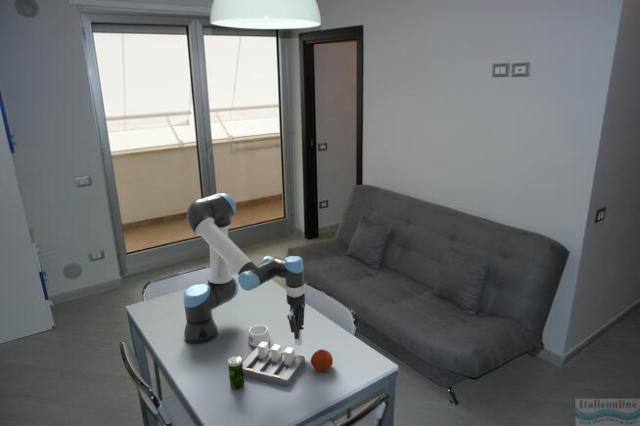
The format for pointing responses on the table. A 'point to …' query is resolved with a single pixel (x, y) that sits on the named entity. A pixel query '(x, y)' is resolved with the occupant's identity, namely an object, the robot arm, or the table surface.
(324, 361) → the fruit
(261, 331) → the mug
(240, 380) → the beer can
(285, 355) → the tab
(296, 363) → the switch board
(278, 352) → the white cuboid
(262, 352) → the white rectangular block
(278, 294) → the table surface
